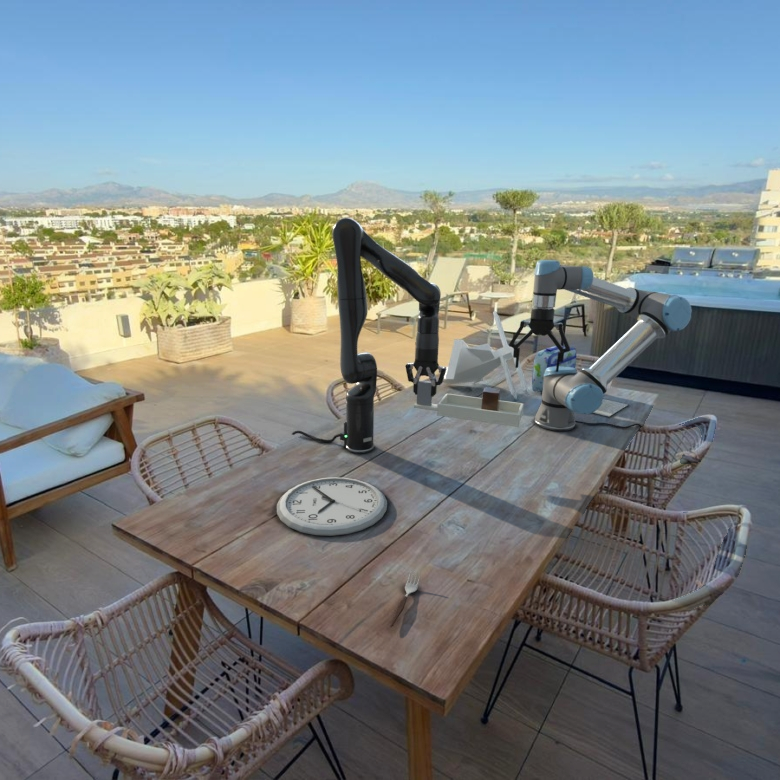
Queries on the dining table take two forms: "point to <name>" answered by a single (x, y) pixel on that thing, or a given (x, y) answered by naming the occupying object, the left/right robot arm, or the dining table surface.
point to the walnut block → (491, 399)
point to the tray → (468, 407)
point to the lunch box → (549, 364)
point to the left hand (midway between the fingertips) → (424, 394)
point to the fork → (409, 589)
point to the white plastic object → (481, 362)
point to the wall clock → (331, 506)
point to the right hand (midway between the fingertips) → (536, 368)
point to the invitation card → (609, 407)
